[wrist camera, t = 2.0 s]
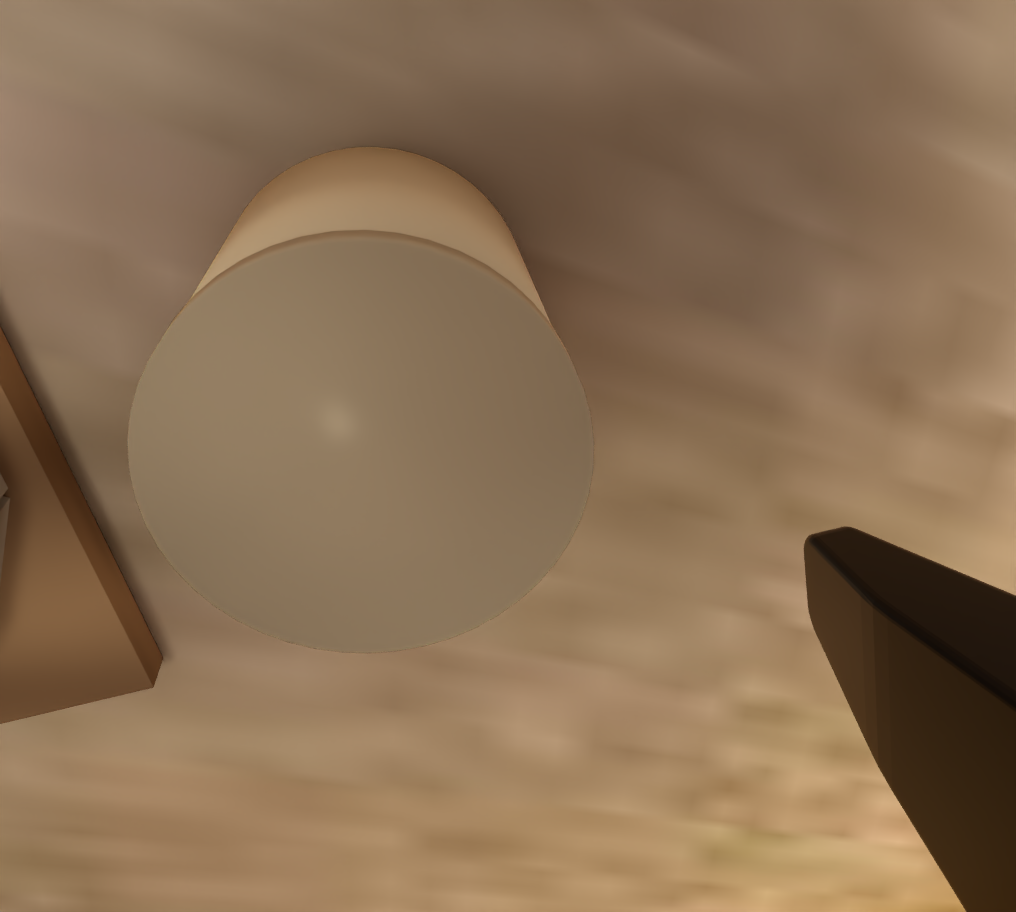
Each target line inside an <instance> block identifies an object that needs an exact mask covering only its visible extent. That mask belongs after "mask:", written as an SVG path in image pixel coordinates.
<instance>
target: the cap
mask: <svg viewBox="0 0 1016 912" xmlns="http://www.w3.org/2000/svg"><path fill="white" fill-rule="evenodd" d="M127 447H128V462H129V473H130V477H131V482H132V486H133V491H134V496H135V499H136V502H137V504H138V507H139V510H140V512H141V515H142V517H143V520H144V523H145V525H146V526H147V528H148V530H149V532H150V534H151V536H152V537H153V539H154V541H155V543H156V545H157V546H158V548H159V549H160V551H161V552H162V553H163V555H164V556H165V557H166V559H167V560H168V561H169V563H170V564H171V566H172V567H173V568H174V569H175V571H176V572H177V573H178V574H179V575H180V576H181V577H182V578H183V579H184V580H185V581H186V582H187V583H188V584H189V585H190V586H191V587H192V588H193V589H194V590H195V591H196V592H198V593H199V594H200V595H201V596H203V597H204V598H205V599H206V600H207V601H209V602H210V603H211V604H212V605H214V606H215V607H216V608H218V609H220V610H221V611H223V612H224V613H226V614H228V615H229V616H231V617H232V618H234V619H235V620H237V621H239V622H241V623H243V624H245V625H247V626H249V627H251V628H253V629H255V630H257V631H259V632H261V633H264V634H267V635H269V636H272V637H275V638H278V639H281V640H283V641H286V642H289V643H293V644H298V645H302V646H306V647H310V648H314V649H321V650H328V651H336V652H346V653H379V652H392V651H401V650H406V649H412V648H417V647H423V646H427V645H430V644H433V643H437V642H440V641H444V640H447V639H450V638H453V637H455V636H458V635H460V634H462V633H465V632H467V631H470V630H472V629H474V628H476V627H478V626H480V625H482V624H484V623H485V622H487V621H489V620H491V619H493V618H494V617H496V616H498V615H499V614H501V613H502V612H504V611H505V610H506V609H508V608H509V607H511V606H512V605H514V604H515V603H516V602H518V601H519V600H520V599H521V598H523V597H524V596H525V595H526V594H527V593H528V592H529V591H530V590H531V589H532V588H534V587H535V586H536V585H537V584H538V583H539V582H540V581H541V580H542V578H543V577H544V576H545V575H546V574H547V573H548V571H549V570H550V569H551V568H552V567H553V566H554V565H555V563H556V562H557V560H558V559H559V557H560V556H561V554H562V553H563V551H564V550H565V548H566V547H567V545H568V544H569V542H570V540H571V538H572V536H573V534H574V532H575V530H576V528H577V526H578V524H579V522H580V520H581V517H582V514H583V511H584V508H585V505H586V502H587V499H588V496H589V491H590V485H591V479H592V474H593V464H594V437H593V428H592V420H591V414H590V410H589V407H588V403H587V399H586V395H585V391H584V389H583V386H582V384H581V382H580V379H579V377H578V375H577V372H576V370H575V368H574V365H573V363H572V361H571V359H570V356H569V354H568V352H567V350H566V348H565V346H564V344H563V343H562V341H561V339H560V338H559V336H558V335H557V333H556V331H555V330H554V328H553V326H552V325H551V323H550V320H549V318H548V316H547V313H546V311H545V309H544V307H543V304H542V302H541V300H540V298H539V295H538V293H537V291H536V288H535V286H534V284H533V282H532V279H531V277H530V275H529V272H528V270H527V268H526V266H525V263H524V261H523V259H522V257H521V254H520V252H519V250H518V247H517V245H516V243H515V241H514V238H513V236H512V234H511V232H510V230H509V228H508V227H507V225H506V223H505V222H504V220H503V218H502V217H501V215H500V214H499V212H498V211H497V210H496V209H495V207H494V206H493V205H492V204H491V202H490V201H489V200H488V199H487V198H486V197H485V196H484V195H483V194H482V193H481V192H480V191H479V190H478V189H477V188H476V187H475V186H474V185H473V184H471V183H470V182H469V181H467V180H466V179H464V178H463V177H462V176H460V175H459V174H458V173H456V172H455V171H453V170H451V169H449V168H447V167H446V166H444V165H442V164H440V163H438V162H436V161H434V160H431V159H428V158H426V157H423V156H421V155H418V154H414V153H410V152H406V151H402V150H398V149H391V148H381V147H353V148H347V149H341V150H335V151H330V152H327V153H324V154H321V155H317V156H314V157H311V158H309V159H307V160H305V161H303V162H301V163H298V164H296V165H294V166H292V167H291V168H289V169H288V170H286V171H284V172H283V173H281V174H280V175H278V176H277V177H275V178H274V179H273V180H272V181H271V182H270V183H268V184H267V185H266V186H265V187H264V188H263V189H262V190H261V191H259V192H258V194H257V195H256V196H255V197H254V198H253V200H252V201H251V202H250V203H249V204H248V205H247V207H246V208H245V210H244V211H243V213H242V214H241V216H240V218H239V219H238V221H237V222H236V224H235V226H234V227H233V229H232V231H231V232H230V234H229V236H228V237H227V239H226V241H225V242H224V244H223V246H222V247H221V249H220V250H219V252H218V254H217V255H216V257H215V259H214V260H213V262H212V264H211V265H210V267H209V269H208V270H207V272H206V274H205V275H204V277H203V279H202V280H201V282H200V284H199V285H198V287H197V289H196V290H195V292H194V294H193V295H192V297H191V298H190V300H189V301H188V303H187V304H186V305H185V306H184V307H183V309H182V310H181V311H180V312H179V313H178V314H177V316H176V317H175V318H174V319H173V321H172V322H171V324H170V326H169V327H168V329H167V331H166V332H165V334H164V335H163V337H162V339H161V340H160V342H159V343H158V345H157V347H156V348H155V350H154V352H153V353H152V355H151V356H150V358H149V360H148V362H147V364H146V366H145V369H144V371H143V373H142V376H141V378H140V381H139V383H138V385H137V388H136V392H135V396H134V400H133V404H132V408H131V412H130V418H129V429H128V440H127Z"/></svg>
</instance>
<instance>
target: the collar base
mask: <svg viewBox="0 0 1016 912" xmlns="http://www.w3.org/2000/svg"><path fill="white" fill-rule="evenodd" d="M162 660H163V657H162V655H161V653H160V651H159V649H158V647H157V645H156V643H155V641H154V639H153V637H152V635H151V633H150V631H149V629H148V627H147V625H146V623H145V621H144V619H143V617H142V615H141V613H140V611H139V608H138V606H137V604H136V602H135V600H134V598H133V596H132V594H131V592H130V590H129V588H128V586H127V584H126V582H125V580H124V578H123V576H122V574H121V572H120V570H119V568H118V566H117V564H116V562H115V560H114V557H113V555H112V553H111V551H110V549H109V547H108V545H107V543H106V541H105V539H104V537H103V535H102V533H101V531H100V529H99V527H98V525H97V523H96V521H95V519H94V517H93V515H92V513H91V511H90V509H89V506H88V504H87V502H86V500H85V498H84V496H83V494H82V492H81V490H80V488H79V486H78V484H77V482H76V480H75V478H74V476H73V474H72V472H71V470H70V468H69V466H68V464H67V462H66V460H65V457H64V455H63V453H62V451H61V449H60V447H59V445H58V443H57V441H56V439H55V437H54V435H53V433H52V431H51V429H50V427H49V425H48V423H47V421H46V419H45V417H44V415H43V413H42V411H41V409H40V406H39V404H38V402H37V400H36V398H35V396H34V394H33V392H32V390H31V388H30V386H29V384H28V382H27V380H26V378H25V376H24V374H23V372H22V370H21V368H20V366H19V364H18V362H17V360H16V358H15V355H14V353H13V351H12V349H11V347H10V345H9V343H8V341H7V339H6V337H5V335H4V333H3V331H2V329H1V327H0V724H2V723H6V722H10V721H14V720H19V719H23V718H27V717H31V716H35V715H40V714H44V713H48V712H52V711H56V710H61V709H65V708H69V707H73V706H77V705H82V704H86V703H90V702H94V701H98V700H103V699H107V698H111V697H115V696H119V695H124V694H128V693H132V692H136V691H140V690H145V689H149V688H153V687H154V684H155V681H156V678H157V675H158V672H159V669H160V666H161V663H162Z"/></svg>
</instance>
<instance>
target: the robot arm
mask: <svg viewBox="0 0 1016 912" xmlns="http://www.w3.org/2000/svg"><path fill="white" fill-rule="evenodd" d="M804 560H805V574H806V587H807V600H808V609H809V614H810V618H811V621H812V624H813V627H814V630H815V632H816V634H817V637H818V639H819V641H820V643H821V645H822V647H823V650H824V652H825V654H826V656H827V658H828V660H829V662H830V665H831V667H832V669H833V671H834V673H835V675H836V678H837V680H838V682H839V684H840V686H841V688H842V691H843V693H844V695H845V697H846V699H847V701H848V703H849V706H850V708H851V710H852V712H853V714H854V716H855V719H856V721H857V723H858V725H859V727H860V729H861V732H862V734H863V736H864V738H865V740H866V742H867V745H868V747H869V749H870V751H871V753H872V755H873V757H874V759H875V761H876V763H877V765H878V767H879V769H880V771H881V772H882V774H883V776H884V777H885V779H886V781H887V783H888V784H889V786H890V788H891V790H892V791H893V793H894V795H895V796H896V798H897V799H898V801H899V803H900V804H901V806H902V808H903V809H904V811H905V812H906V814H907V816H908V817H909V819H910V821H911V822H912V824H913V826H914V827H915V829H916V830H917V832H918V834H919V835H920V837H921V839H922V840H923V842H924V843H925V845H926V847H927V848H928V850H929V852H930V853H931V855H932V856H933V858H934V860H935V861H936V863H937V865H938V866H939V868H940V869H941V871H942V873H943V874H944V876H945V878H946V879H947V881H948V882H949V884H950V886H951V887H952V889H953V891H954V892H955V894H956V895H957V897H958V899H959V900H960V902H961V904H962V905H963V907H964V909H965V910H966V912H1016V596H1015V595H1013V594H1011V593H1008V592H1006V591H1003V590H1001V589H999V588H996V587H994V586H991V585H989V584H987V583H984V582H982V581H979V580H977V579H975V578H972V577H970V576H968V575H965V574H963V573H960V572H958V571H956V570H953V569H951V568H948V567H946V566H944V565H941V564H939V563H936V562H934V561H932V560H929V559H927V558H925V557H922V556H920V555H917V554H915V553H913V552H910V551H908V550H905V549H903V548H901V547H898V546H896V545H893V544H891V543H889V542H886V541H884V540H881V539H879V538H877V537H874V536H872V535H870V534H867V533H865V532H862V531H860V530H858V529H855V528H852V527H840V528H836V529H832V530H828V531H823V532H819V533H815V534H811V535H809V536H808V538H807V539H806V540H805V544H804Z"/></svg>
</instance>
